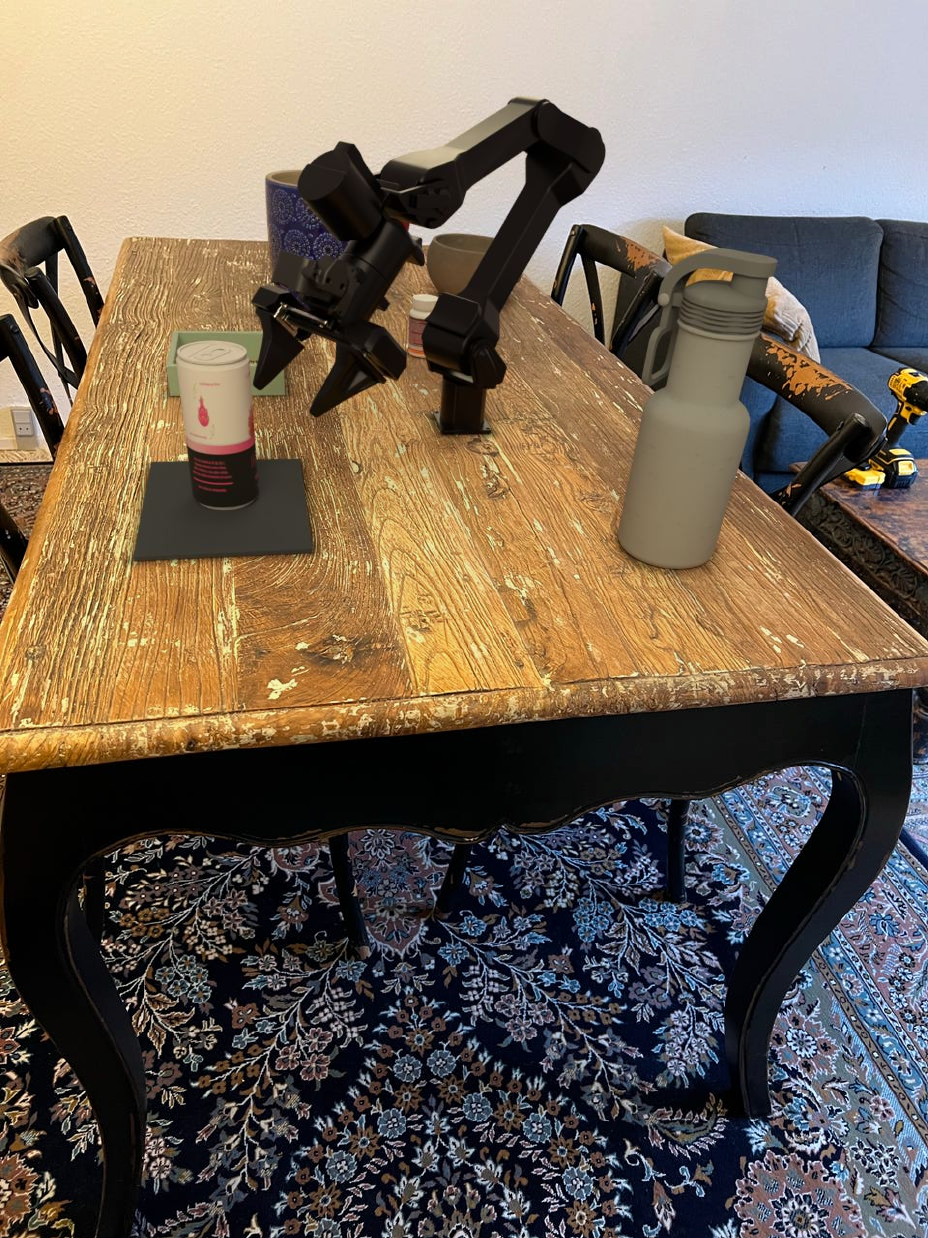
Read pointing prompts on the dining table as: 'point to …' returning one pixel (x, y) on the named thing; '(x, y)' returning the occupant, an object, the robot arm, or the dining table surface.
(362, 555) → the dining table surface
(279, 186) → the planter
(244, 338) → the basin
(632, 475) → the water bottle
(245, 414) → the beverage can
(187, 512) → the mat
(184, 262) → the dining table surface
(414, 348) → the pill bottle
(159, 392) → the dining table surface
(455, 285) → the bowl
